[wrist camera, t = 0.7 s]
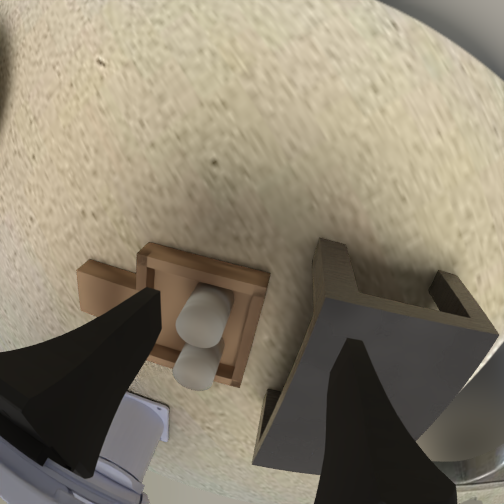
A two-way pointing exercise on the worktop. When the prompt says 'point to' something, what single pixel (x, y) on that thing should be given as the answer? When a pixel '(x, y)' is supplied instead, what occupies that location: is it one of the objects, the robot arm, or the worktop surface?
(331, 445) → the robot arm
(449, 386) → the riser
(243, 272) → the tray
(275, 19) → the worktop surface
